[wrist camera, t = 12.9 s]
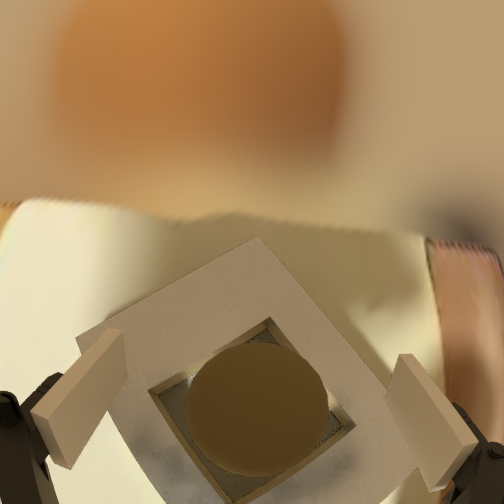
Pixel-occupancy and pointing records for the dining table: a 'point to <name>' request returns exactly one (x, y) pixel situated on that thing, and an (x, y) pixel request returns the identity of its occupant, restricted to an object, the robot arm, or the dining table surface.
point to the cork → (257, 409)
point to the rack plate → (233, 334)
